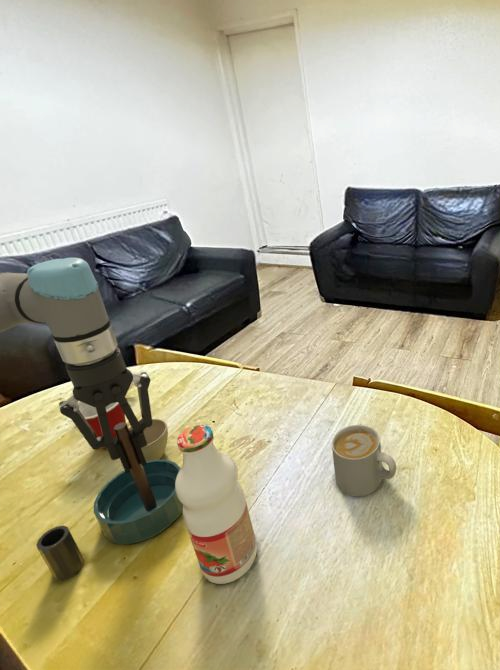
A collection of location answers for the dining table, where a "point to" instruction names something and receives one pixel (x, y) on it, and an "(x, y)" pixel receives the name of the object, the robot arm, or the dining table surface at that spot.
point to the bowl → (138, 504)
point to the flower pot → (155, 439)
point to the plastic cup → (113, 414)
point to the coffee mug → (360, 460)
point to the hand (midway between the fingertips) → (135, 464)
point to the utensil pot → (60, 553)
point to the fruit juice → (214, 507)
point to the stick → (135, 466)
